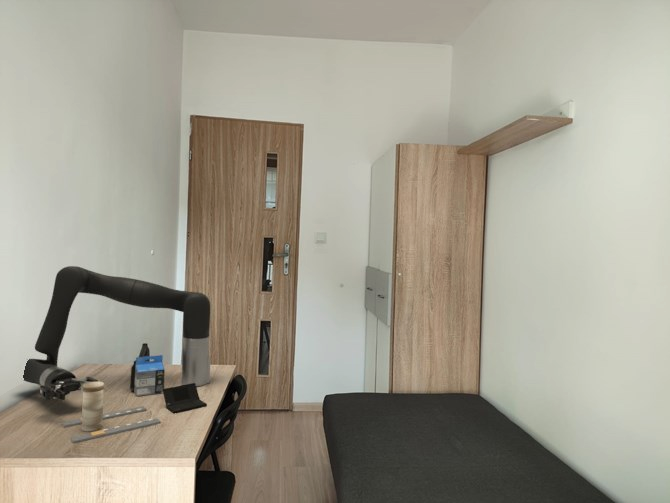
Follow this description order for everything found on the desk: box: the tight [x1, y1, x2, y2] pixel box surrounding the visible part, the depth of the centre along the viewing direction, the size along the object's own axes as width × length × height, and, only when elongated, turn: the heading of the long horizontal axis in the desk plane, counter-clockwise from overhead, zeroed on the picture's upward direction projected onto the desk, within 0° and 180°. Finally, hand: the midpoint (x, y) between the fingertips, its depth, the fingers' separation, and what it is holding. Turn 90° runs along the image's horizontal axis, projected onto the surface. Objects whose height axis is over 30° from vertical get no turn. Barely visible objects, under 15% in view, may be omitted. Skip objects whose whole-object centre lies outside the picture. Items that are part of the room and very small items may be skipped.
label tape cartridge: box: [133, 354, 166, 397], centre depth 153 cm, size 9×4×12 cm, turn 123°
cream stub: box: [81, 381, 105, 432], centre depth 123 cm, size 5×5×12 cm
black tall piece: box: [129, 342, 151, 390], centre depth 167 cm, size 17×3×30 cm
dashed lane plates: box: [61, 405, 162, 444], centre depth 126 cm, size 22×15×1 cm
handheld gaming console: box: [162, 383, 208, 415], centre depth 143 cm, size 12×7×10 cm
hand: (79, 393), depth 128 cm, fingers open, 8 cm apart
